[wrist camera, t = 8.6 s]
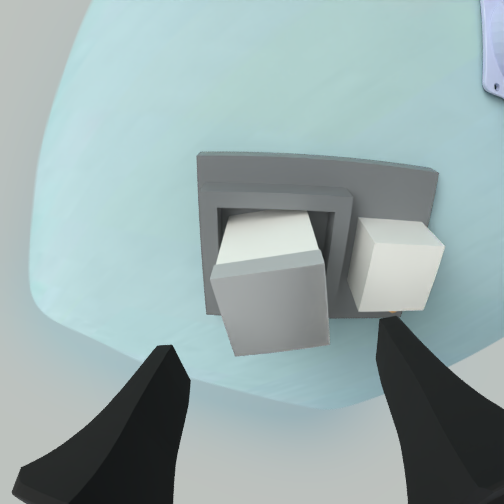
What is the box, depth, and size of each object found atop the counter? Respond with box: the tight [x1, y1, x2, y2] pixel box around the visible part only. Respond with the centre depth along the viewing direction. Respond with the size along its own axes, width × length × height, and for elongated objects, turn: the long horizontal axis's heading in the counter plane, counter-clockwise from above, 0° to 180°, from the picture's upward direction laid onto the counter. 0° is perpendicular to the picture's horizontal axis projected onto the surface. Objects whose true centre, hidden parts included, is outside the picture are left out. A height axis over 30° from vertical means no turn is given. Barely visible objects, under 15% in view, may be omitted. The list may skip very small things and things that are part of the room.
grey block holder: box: [197, 152, 445, 318], centre depth 16 cm, size 13×10×4 cm
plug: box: [210, 209, 330, 356], centre depth 15 cm, size 4×4×6 cm
